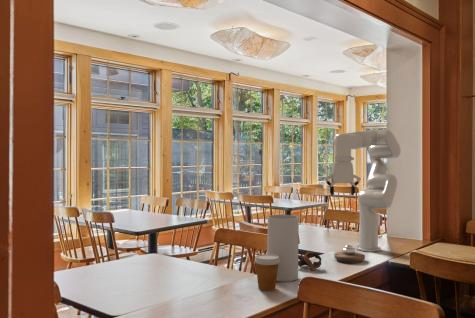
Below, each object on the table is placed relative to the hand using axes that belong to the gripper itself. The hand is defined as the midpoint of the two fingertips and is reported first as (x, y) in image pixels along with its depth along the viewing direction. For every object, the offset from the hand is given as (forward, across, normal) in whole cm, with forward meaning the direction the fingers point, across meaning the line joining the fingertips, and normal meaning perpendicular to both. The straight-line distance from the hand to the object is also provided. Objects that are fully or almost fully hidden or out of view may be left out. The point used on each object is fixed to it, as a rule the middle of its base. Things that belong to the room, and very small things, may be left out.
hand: (342, 195), depth 222 cm
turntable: (+31, -3, +3) cm, 31 cm away
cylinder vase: (+31, +32, +36) cm, 57 cm away
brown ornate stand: (+31, +19, +19) cm, 42 cm away
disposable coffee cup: (+31, +39, +50) cm, 71 cm away
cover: (+28, -3, 0) cm, 28 cm away
